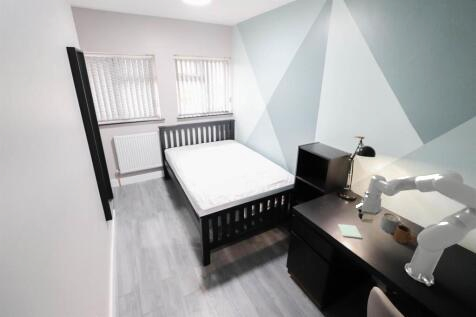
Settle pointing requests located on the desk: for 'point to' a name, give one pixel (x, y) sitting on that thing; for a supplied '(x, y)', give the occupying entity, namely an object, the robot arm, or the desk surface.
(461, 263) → the desk surface
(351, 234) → the trivet
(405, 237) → the mug
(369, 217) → the maple block
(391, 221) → the coffee mug
